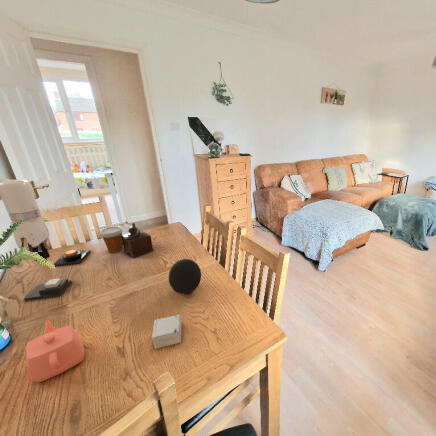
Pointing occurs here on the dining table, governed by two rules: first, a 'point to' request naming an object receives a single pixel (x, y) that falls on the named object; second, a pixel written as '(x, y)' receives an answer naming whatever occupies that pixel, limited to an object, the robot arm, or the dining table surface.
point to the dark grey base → (48, 291)
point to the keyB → (71, 253)
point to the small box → (166, 331)
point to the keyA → (52, 283)
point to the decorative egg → (184, 276)
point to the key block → (72, 258)
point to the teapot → (53, 352)
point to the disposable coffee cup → (112, 239)
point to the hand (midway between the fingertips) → (43, 258)
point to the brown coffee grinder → (136, 242)
